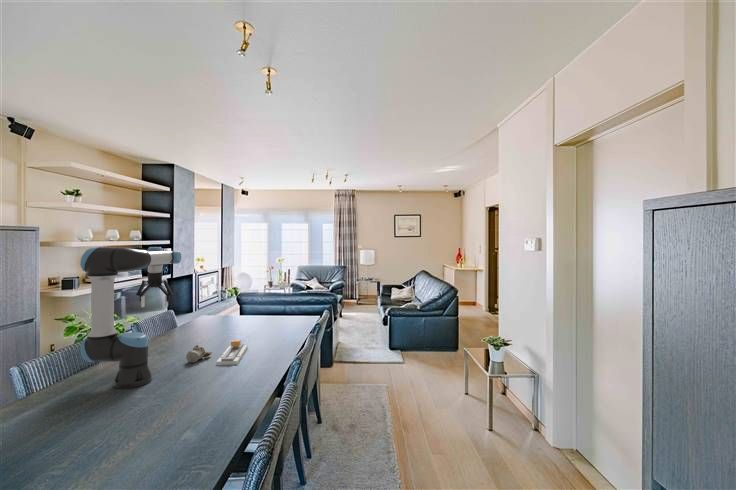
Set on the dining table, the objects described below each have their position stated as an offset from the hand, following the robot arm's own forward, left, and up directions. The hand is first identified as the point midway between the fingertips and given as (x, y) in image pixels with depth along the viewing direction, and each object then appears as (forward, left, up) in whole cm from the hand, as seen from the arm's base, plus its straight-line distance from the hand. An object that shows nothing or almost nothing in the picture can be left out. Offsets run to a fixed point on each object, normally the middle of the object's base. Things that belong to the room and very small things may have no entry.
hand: (154, 306), depth 215 cm
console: (-14, -49, -28) cm, 58 cm away
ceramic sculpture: (-18, -31, -28) cm, 45 cm away
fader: (-7, -49, -25) cm, 56 cm away
